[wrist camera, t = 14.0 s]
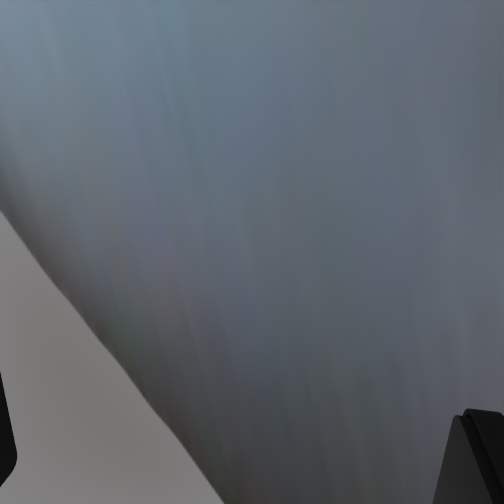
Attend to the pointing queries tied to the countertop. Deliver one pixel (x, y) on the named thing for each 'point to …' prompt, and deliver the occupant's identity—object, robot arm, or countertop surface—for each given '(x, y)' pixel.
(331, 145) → the countertop surface
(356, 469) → the countertop surface
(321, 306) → the countertop surface
